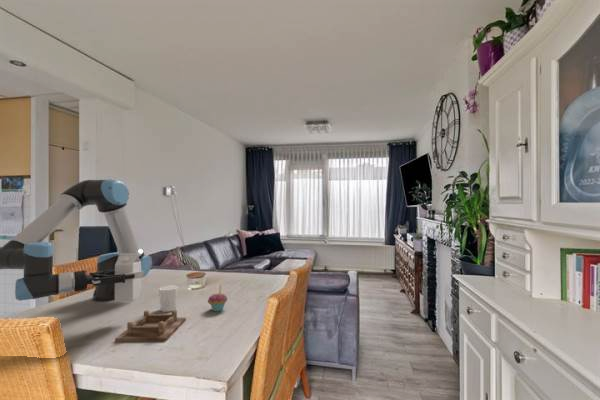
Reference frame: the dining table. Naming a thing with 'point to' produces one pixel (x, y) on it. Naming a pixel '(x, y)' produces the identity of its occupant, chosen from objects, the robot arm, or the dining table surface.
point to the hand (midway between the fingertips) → (139, 272)
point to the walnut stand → (152, 327)
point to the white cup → (168, 298)
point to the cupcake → (217, 301)
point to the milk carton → (130, 287)
